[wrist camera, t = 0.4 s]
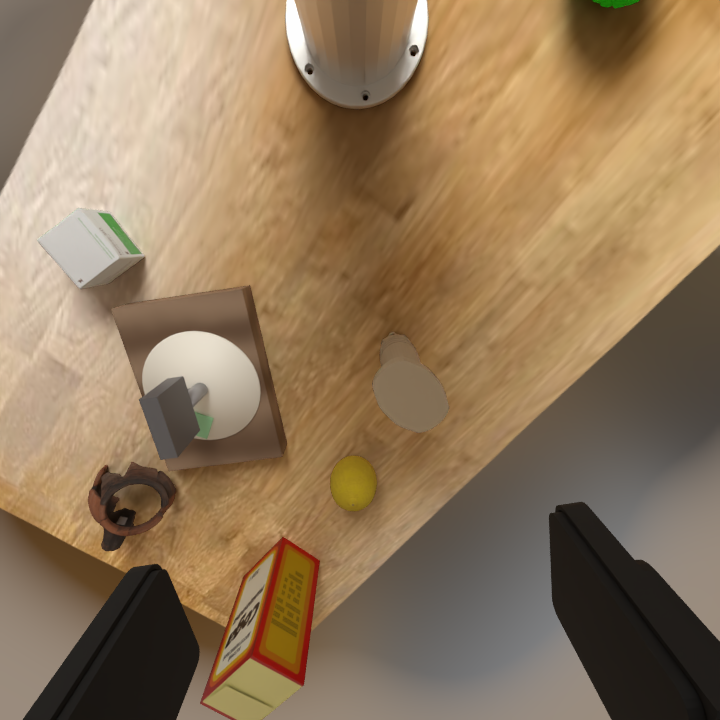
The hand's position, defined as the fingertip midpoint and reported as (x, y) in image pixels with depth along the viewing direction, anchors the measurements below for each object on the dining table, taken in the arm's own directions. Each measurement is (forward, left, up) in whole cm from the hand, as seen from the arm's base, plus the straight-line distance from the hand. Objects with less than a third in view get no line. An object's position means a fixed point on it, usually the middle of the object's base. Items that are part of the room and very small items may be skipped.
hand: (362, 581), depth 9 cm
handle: (+5, +3, -35) cm, 36 cm away
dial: (+6, -19, -32) cm, 37 cm away
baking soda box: (+36, -17, -35) cm, 53 cm away
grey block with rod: (+6, -21, -31) cm, 38 cm away
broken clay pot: (+19, -32, -35) cm, 52 cm away
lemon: (+20, -4, -35) cm, 40 cm away
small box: (-10, -26, -35) cm, 45 cm away
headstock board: (+6, -19, -35) cm, 40 cm away
